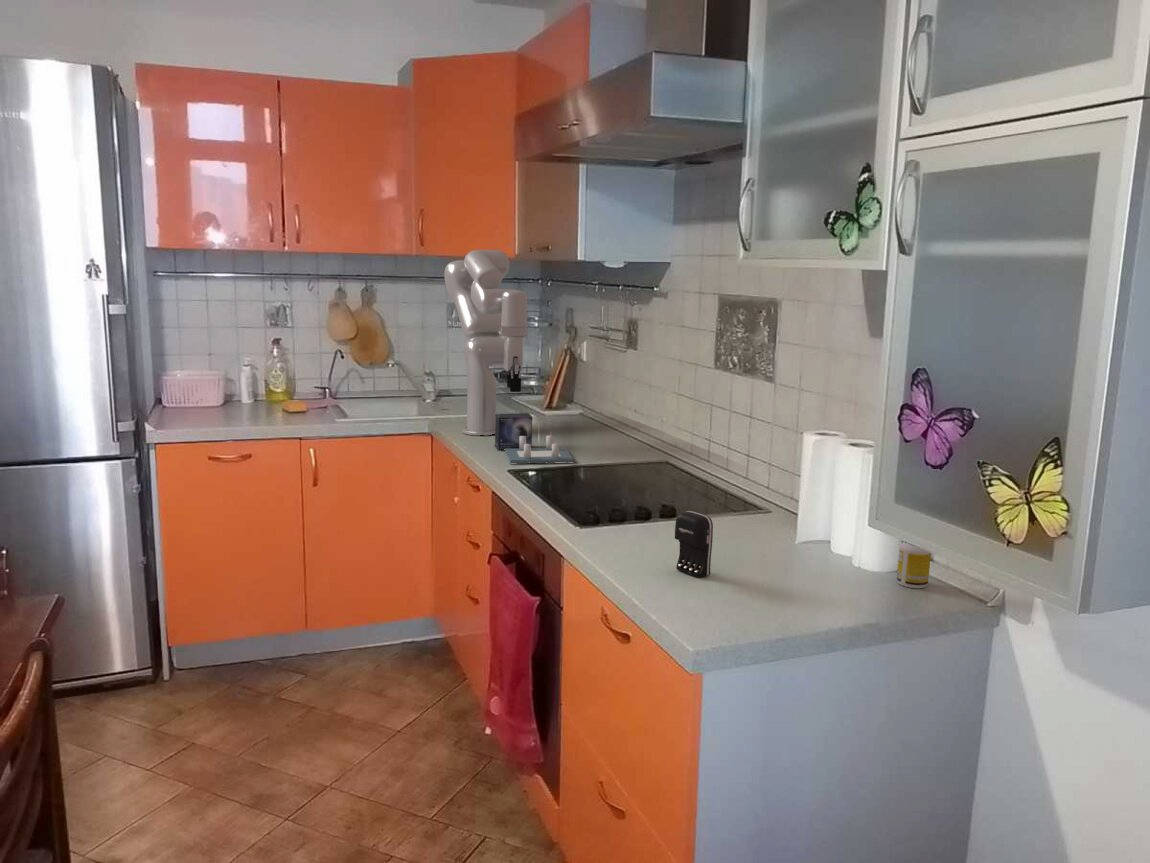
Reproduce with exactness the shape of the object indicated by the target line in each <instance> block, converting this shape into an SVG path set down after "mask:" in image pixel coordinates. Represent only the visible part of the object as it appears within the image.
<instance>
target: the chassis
mask: <svg viewBox="0 0 1150 863" xmlns="http://www.w3.org/2000/svg"><path fill="white" fill-rule="evenodd" d="M504 451H505V452H506V453H505V455H506V454H507V455H506V457H507V456H508V458H509V460H508V462H509V461H510V463H529V462H530V463H546V462H547V463H555V462H573V463H574V458H573V457H572V455H571V454H570V453H569V451H568V450H567V448H566V447H560V445H559V443H554V436H553V435H546V436H545V447H535V448H534V447H533V448H531V444H526V436H519V448H514V449H505V450H504ZM508 458H507V459H508ZM510 463H509V464H510Z"/></svg>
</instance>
